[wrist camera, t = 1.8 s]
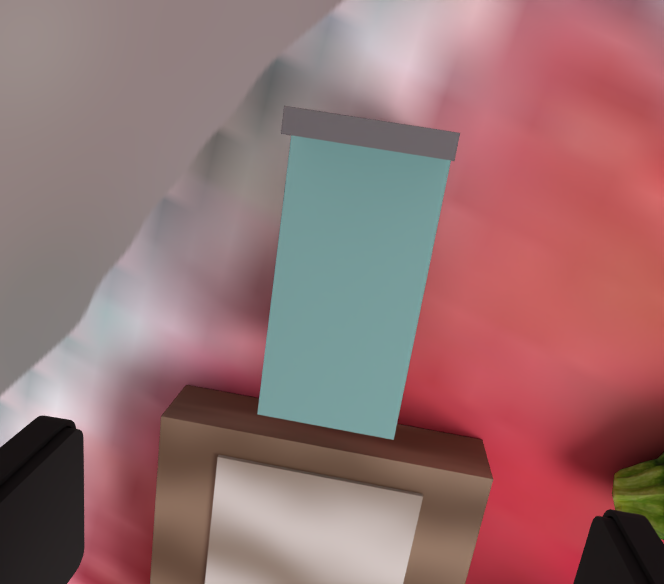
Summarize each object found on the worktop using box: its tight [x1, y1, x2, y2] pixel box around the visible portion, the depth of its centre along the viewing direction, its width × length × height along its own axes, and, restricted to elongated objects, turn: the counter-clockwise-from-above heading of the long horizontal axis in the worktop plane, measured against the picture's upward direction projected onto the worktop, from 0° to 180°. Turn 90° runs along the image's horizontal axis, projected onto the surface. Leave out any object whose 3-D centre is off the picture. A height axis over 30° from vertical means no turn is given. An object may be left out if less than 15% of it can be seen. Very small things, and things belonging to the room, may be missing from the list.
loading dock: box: [150, 385, 493, 584], centre depth 31 cm, size 16×16×4 cm
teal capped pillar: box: [257, 106, 460, 440], centre depth 23 cm, size 12×6×10 cm, turn 172°
